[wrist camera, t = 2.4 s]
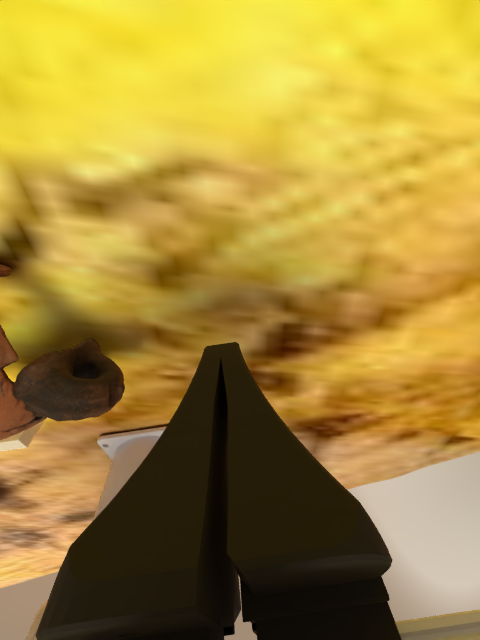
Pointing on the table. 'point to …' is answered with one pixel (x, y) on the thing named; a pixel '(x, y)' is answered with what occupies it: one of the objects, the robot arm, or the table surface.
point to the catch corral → (20, 439)
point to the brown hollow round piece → (56, 385)
